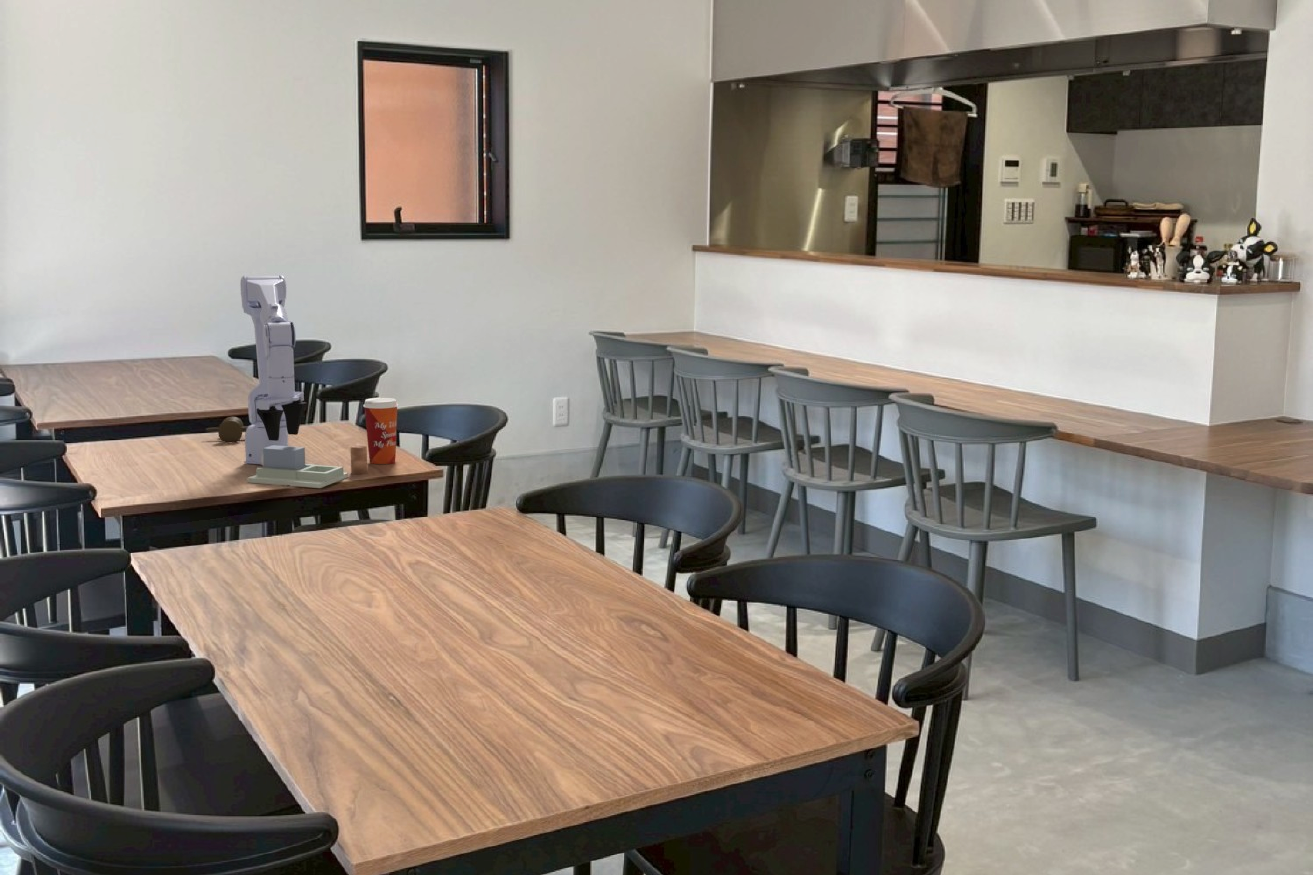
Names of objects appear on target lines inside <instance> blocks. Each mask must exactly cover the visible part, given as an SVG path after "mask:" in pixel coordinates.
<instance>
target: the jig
mask: <svg viewBox="0 0 1313 875" xmlns="http://www.w3.org/2000/svg"><path fill="white" fill-rule="evenodd" d="M255 470H256V474H255V475H251V476H249V477H247V479H246V480H247V483H251V484H264V485H266V484H267V485H276V486H277V485H278V486H287V485H290V486H289V487H302V488H313V489H322V488H325V487H326V486H327V487H328V486H329V485H333V484H334V483H337V482H339V481H342V480H345V479H347V478H349V472H345V470H344V466H336V465H335V466H334V465H322V464H321V465H320V464H311V463H305V468H304V469H301V470H287V469H274V468H264V467H261V466H260V467H257V468H256V469H255Z"/></svg>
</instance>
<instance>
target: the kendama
mask: <svg viewBox="0 0 1313 875" xmlns="http://www.w3.org/2000/svg"><path fill="white" fill-rule="evenodd" d="M249 426H250V425H248V426H247V425H246V426H244V423H243V421H242V419H241V418H239V417H237V416H227V417H226V418H224V419H223V421H222V422H221V423H220V424H219V426H218V427H208V428H205V430H206V431H207V432H218V437H219V439H220V441H221V442H224V443H225V442H232V443H237V442H239V441H240V440H241V438H242V437H243V433H246V430H247V428H248V427H249Z"/></svg>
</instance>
